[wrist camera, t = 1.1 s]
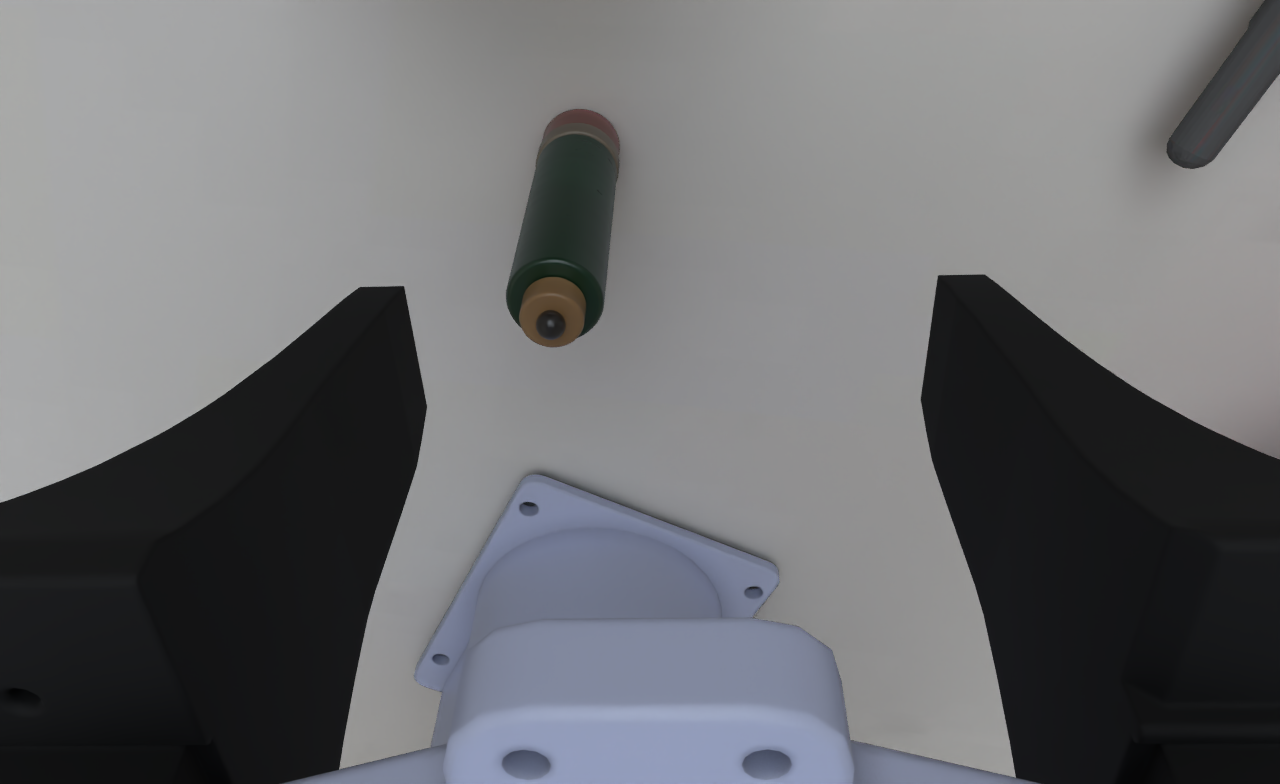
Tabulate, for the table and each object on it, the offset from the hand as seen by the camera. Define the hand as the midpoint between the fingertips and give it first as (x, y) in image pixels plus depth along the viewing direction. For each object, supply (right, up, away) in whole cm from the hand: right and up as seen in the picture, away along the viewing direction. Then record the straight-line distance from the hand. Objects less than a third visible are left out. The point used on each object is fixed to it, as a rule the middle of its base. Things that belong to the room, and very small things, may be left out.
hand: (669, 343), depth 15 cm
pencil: (-2, +5, +9) cm, 11 cm away
